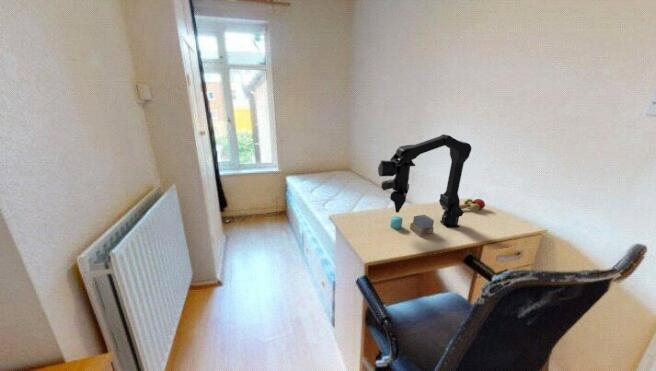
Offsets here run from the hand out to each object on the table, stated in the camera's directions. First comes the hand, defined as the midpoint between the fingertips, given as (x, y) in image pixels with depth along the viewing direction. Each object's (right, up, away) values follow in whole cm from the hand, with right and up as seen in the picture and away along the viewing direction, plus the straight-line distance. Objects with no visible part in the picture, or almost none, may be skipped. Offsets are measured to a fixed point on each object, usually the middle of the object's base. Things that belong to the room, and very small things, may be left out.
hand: (398, 208), depth 116 cm
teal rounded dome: (0, -9, +3) cm, 10 cm away
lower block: (+10, -11, -1) cm, 15 cm away
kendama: (+45, -3, +24) cm, 51 cm away
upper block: (+11, -7, -2) cm, 13 cm away
